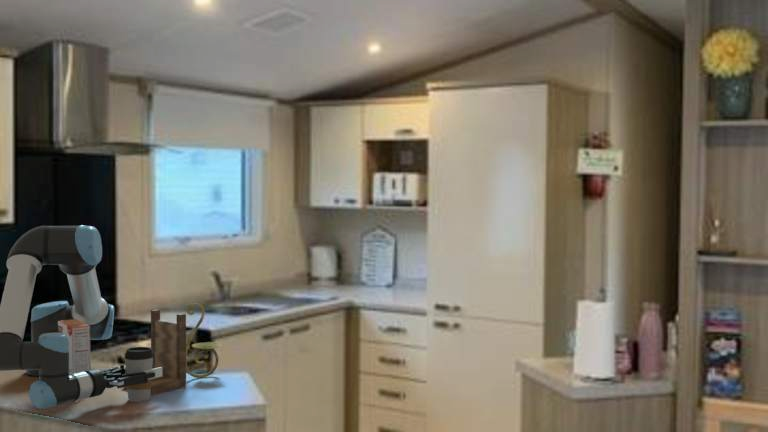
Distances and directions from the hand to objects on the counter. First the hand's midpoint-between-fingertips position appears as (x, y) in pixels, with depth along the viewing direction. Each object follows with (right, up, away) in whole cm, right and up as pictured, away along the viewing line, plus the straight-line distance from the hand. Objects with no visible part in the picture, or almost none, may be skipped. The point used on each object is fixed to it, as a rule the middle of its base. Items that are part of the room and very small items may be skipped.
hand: (152, 369), depth 252 cm
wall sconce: (+9, -7, +23) cm, 26 cm away
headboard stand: (-2, -7, +11) cm, 13 cm away
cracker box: (-26, -8, +7) cm, 28 cm away
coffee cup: (-3, -8, -4) cm, 10 cm away
